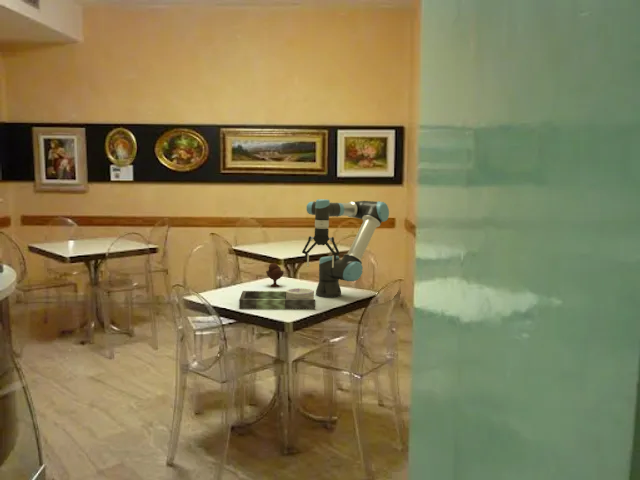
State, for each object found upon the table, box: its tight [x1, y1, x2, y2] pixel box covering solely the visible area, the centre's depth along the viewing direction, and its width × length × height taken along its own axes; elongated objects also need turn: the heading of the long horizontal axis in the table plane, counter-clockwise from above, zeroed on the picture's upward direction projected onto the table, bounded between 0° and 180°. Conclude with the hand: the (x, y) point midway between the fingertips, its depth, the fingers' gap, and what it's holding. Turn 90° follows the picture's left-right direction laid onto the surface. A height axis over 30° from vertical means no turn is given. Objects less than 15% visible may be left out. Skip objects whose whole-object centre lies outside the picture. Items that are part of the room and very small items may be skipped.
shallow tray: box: [238, 290, 316, 310], centre depth 314 cm, size 40×22×5 cm, turn 93°
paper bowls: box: [285, 287, 315, 299], centre depth 314 cm, size 15×15×8 cm
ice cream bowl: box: [265, 262, 285, 288], centre depth 363 cm, size 11×11×15 cm
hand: (320, 266), depth 312 cm, fingers open, 13 cm apart
